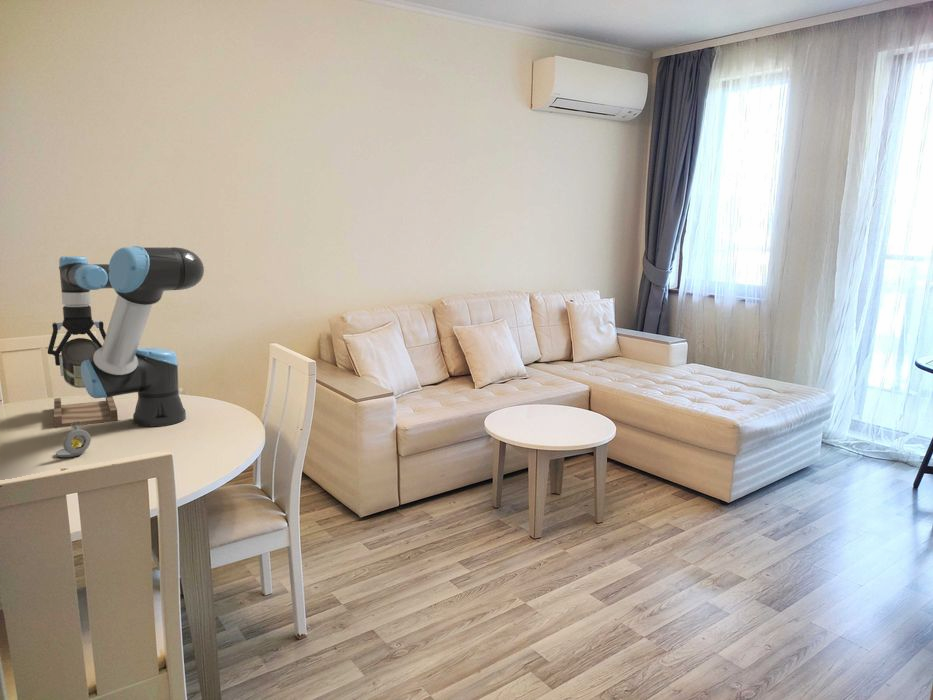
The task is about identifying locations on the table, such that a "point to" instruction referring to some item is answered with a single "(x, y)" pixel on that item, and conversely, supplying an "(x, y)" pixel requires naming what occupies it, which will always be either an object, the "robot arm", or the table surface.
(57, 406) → the cradle
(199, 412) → the table surface
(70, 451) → the pocket watch
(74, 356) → the coffee can
